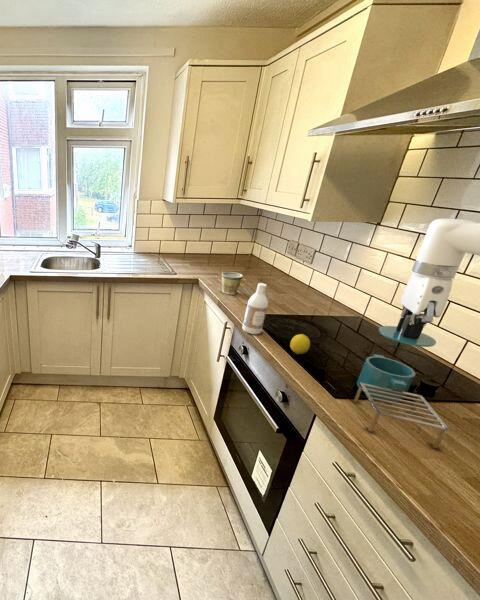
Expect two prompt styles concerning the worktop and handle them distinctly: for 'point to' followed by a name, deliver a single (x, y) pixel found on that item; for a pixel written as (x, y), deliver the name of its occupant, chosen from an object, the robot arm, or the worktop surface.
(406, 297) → the robot arm
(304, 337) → the lemon
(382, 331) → the lid
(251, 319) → the bath foam
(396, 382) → the pot
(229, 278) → the ceramic cup
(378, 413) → the rack
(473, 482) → the worktop surface
